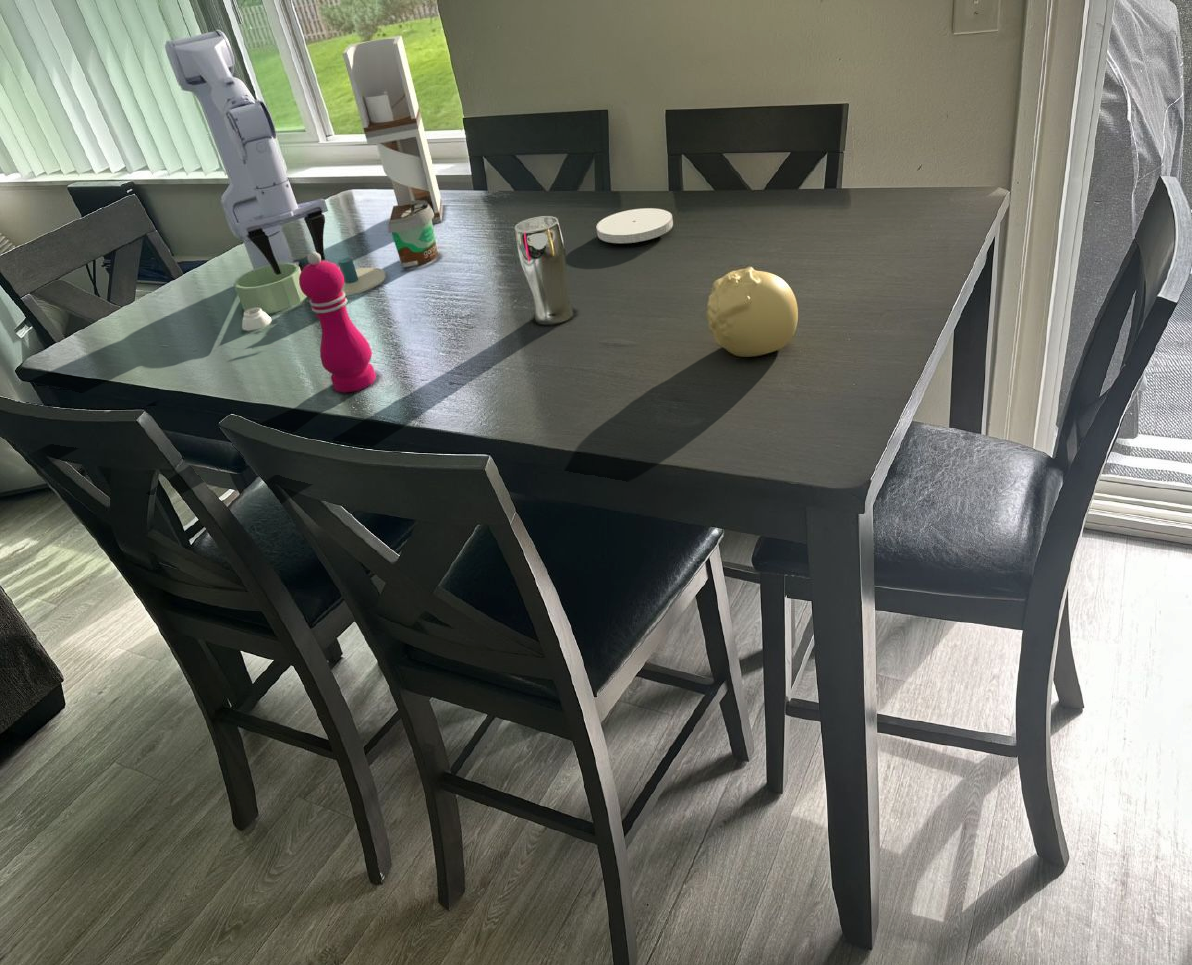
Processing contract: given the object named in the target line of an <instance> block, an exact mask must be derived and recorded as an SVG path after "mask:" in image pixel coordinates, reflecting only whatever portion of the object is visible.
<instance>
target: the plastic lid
mask: <svg viewBox="0 0 1192 965" xmlns="http://www.w3.org/2000/svg"><path fill="white" fill-rule="evenodd" d="M673 227H674V220H673V214H672V213H671V212H670V211H668V210H665V209H661V208H654V207H653V208H652V207H650V208H649V207H647V208H646V207H645V208H634V209H628V210H624V211H619V212H616V213H613V214H610V215H608V216H605V217H604V218H603V219H601V220H599V221H598V222H597V224H596V235H597V237H598V239H599V240H601V241H603V242H606V243H611V244H632V243H633V244H635V243H639V242H645V241H649V240H652V239H655V238H658V237H661V236H663V235H665V234H667V233H668V232H669V231H671V230H672V228H673Z"/></svg>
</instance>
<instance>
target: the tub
mask: <svg viewBox="0 0 1192 965" xmlns="http://www.w3.org/2000/svg"><path fill="white" fill-rule="evenodd" d="M278 266H279V268H280V271H281V274H278V275H277V274H275V273H274V270H273V268H272V267H271V265H267V266H263V267H260V268H257V269H251V270H249V271H247V272H245V273H243V274H241V275H240V276H238V277H237V278H236V279H235V280H234V283H233V286H234V288H235V291H236V293H237V296H238V299H239V302H240V304H241V307H242V309H243V312H245V311H247V310H249V309H252V308H261V309H262V311H264V312H265V313H266V314H267V315H269V314H272V313H277V312H280V311H283V310H286V309H289V308H293V307H294V306H296V305H298V304H300V303H301V302H303V301H304V300H305V299H306V298H308V297H307V296H306V295H305V294H304V293H303V292H302V290H301V288H300V284H299V276H300V273H301V271H302V270H301V267H300V266H299V265H297V264H293V263H278Z"/></svg>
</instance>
